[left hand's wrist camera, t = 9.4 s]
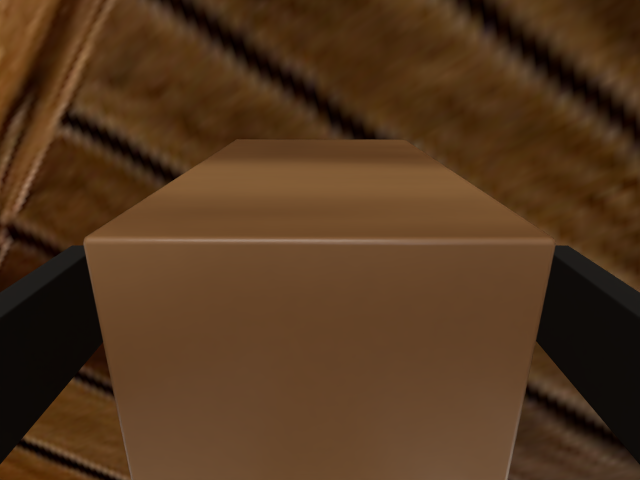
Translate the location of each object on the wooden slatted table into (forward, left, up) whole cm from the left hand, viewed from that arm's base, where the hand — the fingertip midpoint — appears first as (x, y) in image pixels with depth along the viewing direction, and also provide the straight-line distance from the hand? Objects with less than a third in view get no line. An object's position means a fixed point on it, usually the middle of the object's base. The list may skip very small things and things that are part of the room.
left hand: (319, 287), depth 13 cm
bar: (-4, +7, -3) cm, 8 cm away
